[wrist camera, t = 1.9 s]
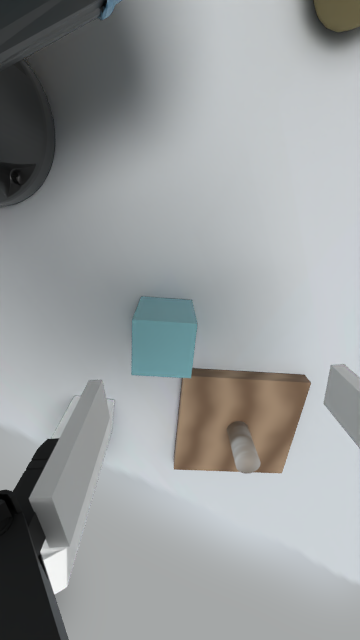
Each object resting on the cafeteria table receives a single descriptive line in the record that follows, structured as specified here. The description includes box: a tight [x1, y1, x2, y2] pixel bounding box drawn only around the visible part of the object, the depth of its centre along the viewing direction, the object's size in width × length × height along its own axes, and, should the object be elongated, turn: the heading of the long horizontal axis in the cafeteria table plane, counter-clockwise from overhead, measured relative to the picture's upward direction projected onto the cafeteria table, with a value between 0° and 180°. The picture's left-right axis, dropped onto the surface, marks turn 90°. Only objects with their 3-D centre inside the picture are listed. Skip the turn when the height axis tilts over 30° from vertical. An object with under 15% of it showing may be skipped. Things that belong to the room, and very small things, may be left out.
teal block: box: [131, 296, 197, 378], centre depth 31 cm, size 6×6×8 cm
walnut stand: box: [174, 368, 311, 473], centre depth 37 cm, size 18×18×8 cm
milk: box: [40, 396, 114, 594], centre depth 29 cm, size 6×6×22 cm
